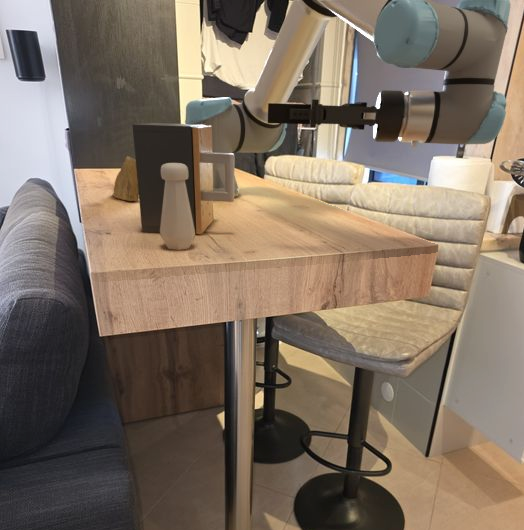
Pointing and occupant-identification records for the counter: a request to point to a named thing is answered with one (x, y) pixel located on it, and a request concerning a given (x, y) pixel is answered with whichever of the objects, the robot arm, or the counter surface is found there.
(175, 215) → the salt shaker
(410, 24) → the robot arm
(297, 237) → the counter surface
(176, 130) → the dark grey cabinet
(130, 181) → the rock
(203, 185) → the door
